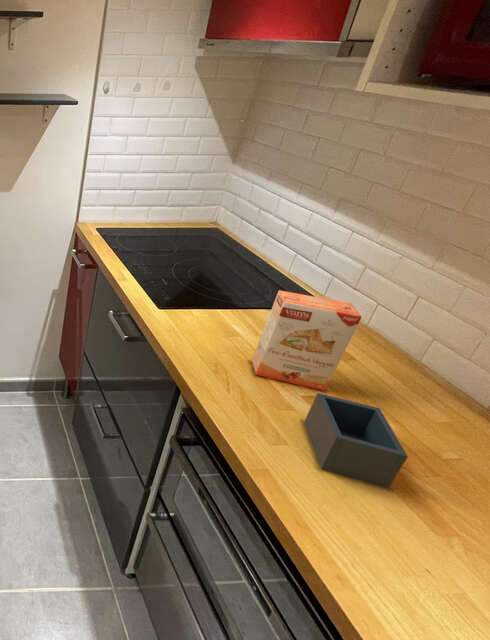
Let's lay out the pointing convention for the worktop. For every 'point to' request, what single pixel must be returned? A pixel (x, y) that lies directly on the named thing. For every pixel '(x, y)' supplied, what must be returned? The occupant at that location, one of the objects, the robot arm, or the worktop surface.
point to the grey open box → (354, 440)
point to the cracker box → (304, 339)
